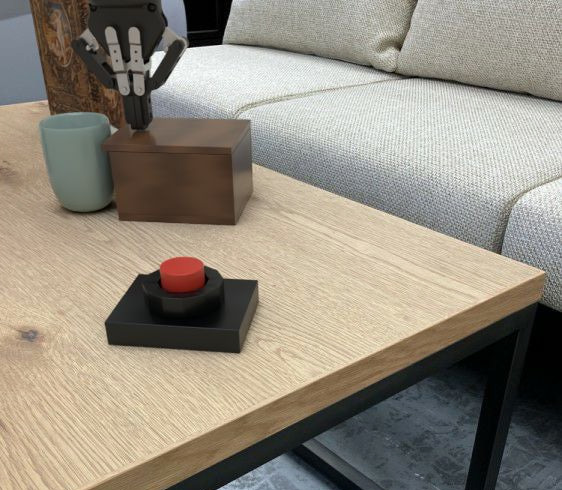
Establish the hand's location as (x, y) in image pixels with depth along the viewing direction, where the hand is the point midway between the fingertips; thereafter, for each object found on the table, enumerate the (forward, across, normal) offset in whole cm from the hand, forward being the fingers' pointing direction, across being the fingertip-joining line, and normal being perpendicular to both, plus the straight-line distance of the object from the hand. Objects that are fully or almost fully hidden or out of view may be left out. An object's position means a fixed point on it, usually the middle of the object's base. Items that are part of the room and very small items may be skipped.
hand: (140, 128), depth 80 cm
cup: (+9, +7, +2) cm, 12 cm away
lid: (+1, -5, 0) cm, 5 cm away
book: (+9, +19, -30) cm, 37 cm away
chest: (+9, -5, 0) cm, 10 cm away
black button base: (+9, -12, +28) cm, 32 cm away
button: (+5, -12, +28) cm, 31 cm away
